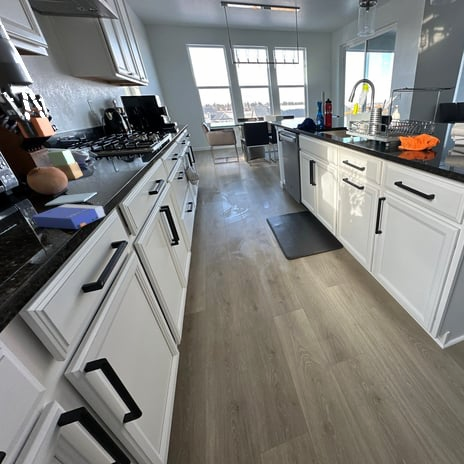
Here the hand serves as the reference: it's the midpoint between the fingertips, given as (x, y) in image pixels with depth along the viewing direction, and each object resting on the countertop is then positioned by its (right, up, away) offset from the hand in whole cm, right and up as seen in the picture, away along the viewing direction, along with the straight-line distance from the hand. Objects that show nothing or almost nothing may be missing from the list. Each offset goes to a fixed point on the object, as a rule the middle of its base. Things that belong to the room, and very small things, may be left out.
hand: (40, 135), depth 69 cm
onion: (-11, -14, +15) cm, 23 cm away
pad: (+1, -17, +8) cm, 19 cm away
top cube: (0, 0, 0) cm, 0 cm away
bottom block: (-22, -5, +33) cm, 40 cm away
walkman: (+10, -22, -6) cm, 25 cm away
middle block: (-23, 0, +30) cm, 38 cm away
